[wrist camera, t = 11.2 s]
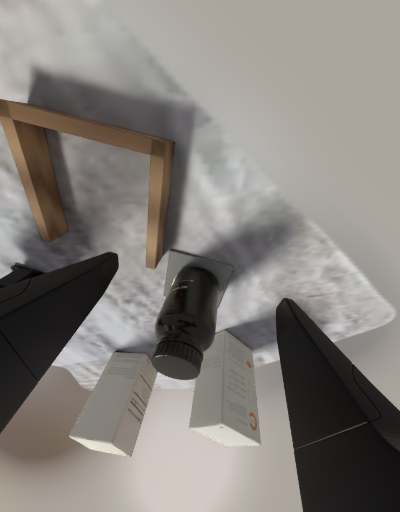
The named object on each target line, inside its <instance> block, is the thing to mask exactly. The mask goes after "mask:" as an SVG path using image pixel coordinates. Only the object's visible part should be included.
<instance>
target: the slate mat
mask: <svg viewBox="0 0 400 512" xmlns="http://www.w3.org/2000/svg"><path fill="white" fill-rule="evenodd" d="M187 267H201V268H204V269H206V270H208V271H210V272H211V273H213V274H214V275H215V277H216V278H217V280H218V282H219V288H220V289H219V300H218V306H219V303H220V301H221V298H222V296H223V293H224V291H225V289H226V286H227V284H228V281H229V279H230V276H231V274H232V272H233V269H234V266H231V265H227V264H223V263H219V262H215V261H212V260H208V259H204V258H200V257H196V256H192V255H189V254H185V253H181V252H177V251H173V250H170V252H169V259H168V267H167V274H166V281H165V289H164V296H166V297H167V294H168V292H169V290H170V287H171V285H172V283H173V280H174V278H175V276H176V275H177V273H178V272H179V271H181V270H182V269H184V268H187Z"/></svg>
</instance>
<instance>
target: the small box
mask: <svg viewBox="0 0 400 512" xmlns="http://www.w3.org/2000/svg"><path fill="white" fill-rule="evenodd" d="M189 428H190V429H192V430H194V431H196V432H198V433H200V434H202V435H205V436H206V437H209V438H211V439H213V440H215V441H217V442H219V443H221V444H223V445H225V446H260V445H261V440H260V430H259V419H258V408H257V397H256V386H255V376H254V365H253V354H252V350H251V349H249V348H248V347H247V346H245V345H244V344H243V343H242V342H240V341H239V340H238V339H236V338H235V337H234V336H233V335H231V334H230V333H229V332H227V331H226V330H224V331H221V332H219V333H217V334H215V338H214V342H213V344H212V345H211V346H210V348H209V349H208V350H206V351H205V352H204V357H203V361H202V364H201V371H200V374H199V376H198V377H197V378H196V382H195V390H194V397H193V403H192V411H191V418H190V425H189Z"/></svg>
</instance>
